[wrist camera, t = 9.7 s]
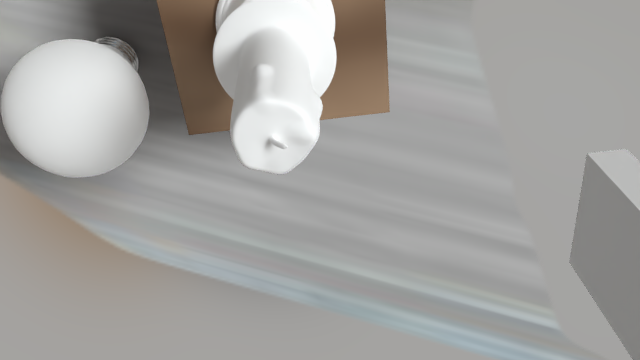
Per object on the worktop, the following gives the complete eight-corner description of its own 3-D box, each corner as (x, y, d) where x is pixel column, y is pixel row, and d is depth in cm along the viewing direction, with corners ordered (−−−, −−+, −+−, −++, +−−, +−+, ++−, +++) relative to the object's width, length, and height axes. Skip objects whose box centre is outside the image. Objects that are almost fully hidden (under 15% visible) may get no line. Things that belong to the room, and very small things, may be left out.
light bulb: (180, 105, 37) (145, 201, 27) (72, 108, 36) (0, 207, 27) (164, -2, 33) (118, 65, 24) (45, 0, 33) (-49, 70, 24)
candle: (333, -43, 25) (367, 47, 15) (336, 75, 28) (368, 220, 18) (207, -35, 25) (155, 61, 15) (224, 83, 28) (189, 233, 17)
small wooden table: (168, -104, 31) (136, -84, 24) (358, -126, 31) (380, -112, 24) (206, 76, 36) (189, 135, 29) (369, 57, 36) (389, 111, 29)
